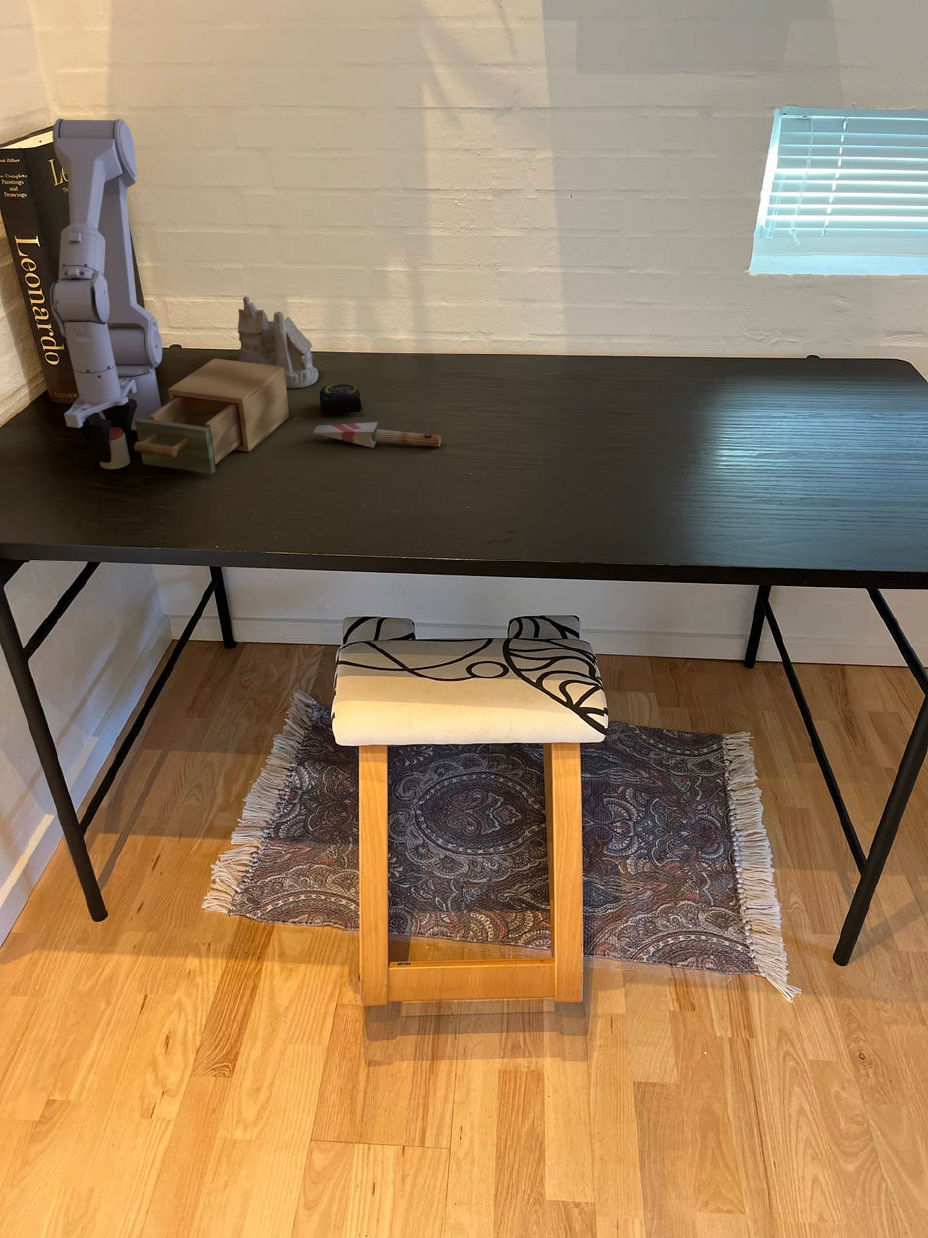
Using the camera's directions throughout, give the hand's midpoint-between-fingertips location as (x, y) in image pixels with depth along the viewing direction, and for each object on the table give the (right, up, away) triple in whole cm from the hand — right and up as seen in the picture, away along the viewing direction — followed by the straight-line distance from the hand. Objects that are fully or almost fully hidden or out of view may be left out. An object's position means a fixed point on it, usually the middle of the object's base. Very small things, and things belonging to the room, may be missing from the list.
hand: (113, 454), depth 142 cm
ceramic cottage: (+19, +21, +33) cm, 44 cm away
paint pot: (0, -1, +1) cm, 1 cm away
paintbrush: (+39, +3, +8) cm, 40 cm away
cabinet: (+15, +6, +12) cm, 20 cm away
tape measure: (+32, +10, +18) cm, 38 cm away
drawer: (+12, 0, +1) cm, 12 cm away
